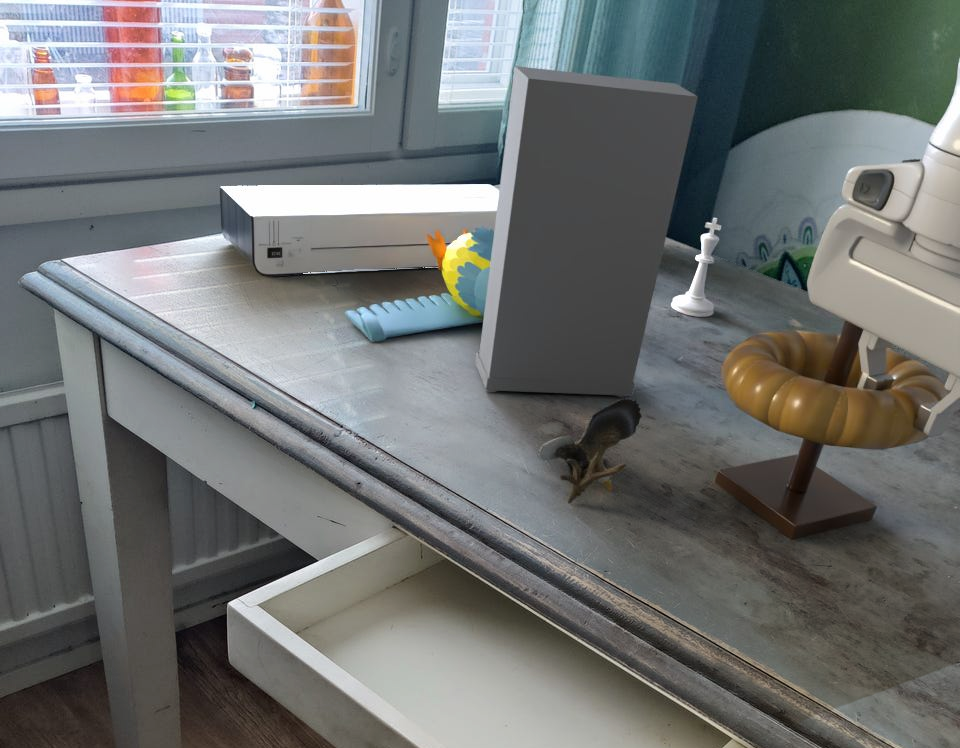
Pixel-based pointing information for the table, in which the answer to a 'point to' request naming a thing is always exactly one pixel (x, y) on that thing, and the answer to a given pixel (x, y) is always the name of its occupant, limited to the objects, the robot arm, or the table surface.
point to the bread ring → (826, 392)
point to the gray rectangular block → (580, 229)
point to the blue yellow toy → (464, 281)
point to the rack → (802, 473)
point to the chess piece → (699, 279)
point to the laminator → (349, 224)
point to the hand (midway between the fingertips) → (897, 414)
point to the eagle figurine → (594, 446)
